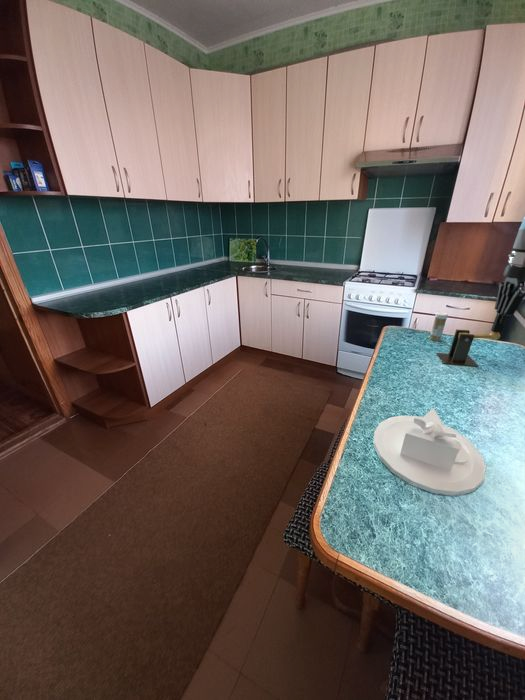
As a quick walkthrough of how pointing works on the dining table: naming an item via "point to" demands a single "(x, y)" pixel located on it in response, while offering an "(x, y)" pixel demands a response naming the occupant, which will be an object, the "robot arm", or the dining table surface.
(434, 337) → the sprinkles bottle
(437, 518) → the dining table surface
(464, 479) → the dish
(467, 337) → the dark grey stand
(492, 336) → the tap lever
